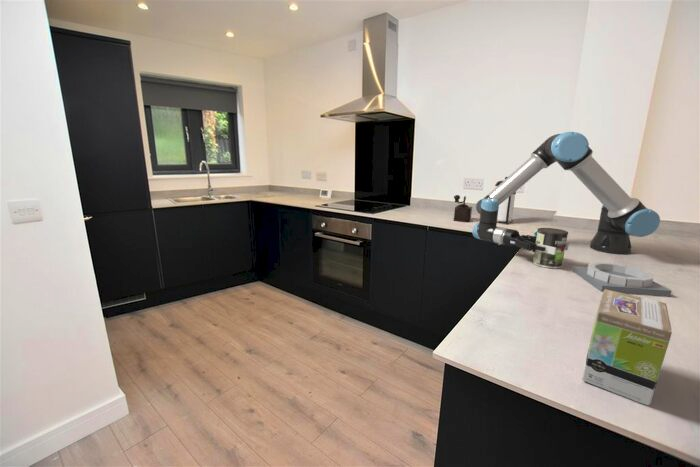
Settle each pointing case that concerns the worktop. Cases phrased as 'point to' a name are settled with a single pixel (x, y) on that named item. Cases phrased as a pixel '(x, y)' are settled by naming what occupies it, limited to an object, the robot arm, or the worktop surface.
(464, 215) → the manual coffee grinder
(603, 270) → the housing
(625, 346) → the tea box
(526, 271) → the worktop surface
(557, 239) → the coffee can
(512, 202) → the coffee press
